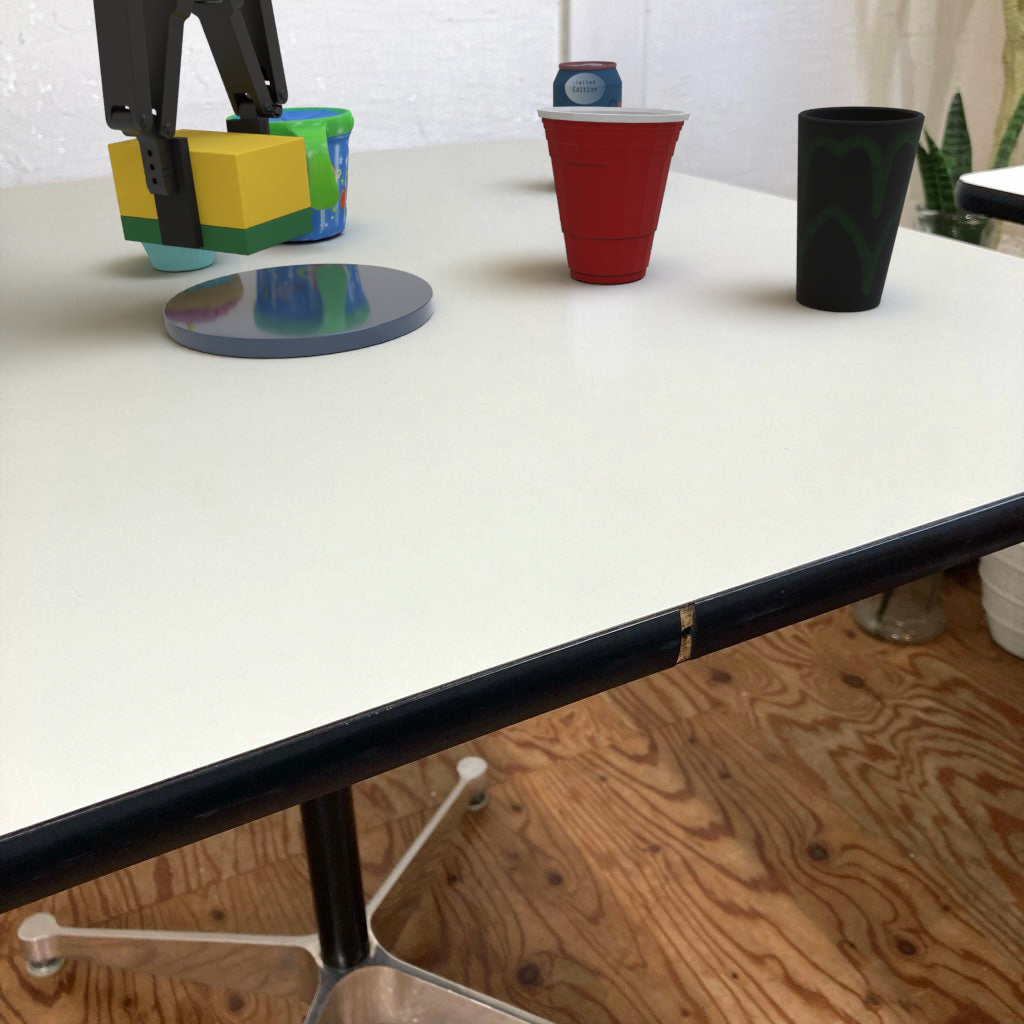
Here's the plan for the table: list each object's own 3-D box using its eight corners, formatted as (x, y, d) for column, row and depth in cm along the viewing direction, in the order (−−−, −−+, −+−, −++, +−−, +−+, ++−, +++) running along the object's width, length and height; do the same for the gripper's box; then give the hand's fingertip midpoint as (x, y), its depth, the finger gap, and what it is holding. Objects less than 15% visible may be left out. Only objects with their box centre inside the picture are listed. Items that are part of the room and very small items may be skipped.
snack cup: (232, 223, 98) (215, 107, 93) (343, 212, 101) (332, 99, 96) (255, 261, 84) (236, 129, 80) (382, 247, 88) (371, 119, 83)
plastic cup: (705, 266, 80) (716, 99, 74) (638, 301, 72) (645, 117, 66) (584, 250, 85) (585, 93, 80) (509, 281, 77) (505, 109, 72)
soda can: (600, 196, 104) (602, 67, 99) (541, 191, 108) (539, 65, 102) (631, 184, 110) (634, 61, 104) (573, 179, 113) (573, 59, 107)
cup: (763, 305, 70) (780, 118, 65) (802, 279, 76) (821, 104, 70) (877, 322, 67) (905, 124, 61) (910, 293, 72) (939, 109, 67)
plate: (106, 338, 68) (102, 320, 67) (274, 270, 82) (272, 254, 81) (340, 373, 61) (338, 353, 60) (478, 292, 75) (478, 276, 74)
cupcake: (114, 264, 85) (82, 106, 79) (211, 246, 89) (188, 96, 84) (157, 284, 79) (126, 116, 73) (258, 264, 84) (237, 105, 78)
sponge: (124, 240, 68) (106, 144, 65) (195, 218, 73) (182, 128, 71) (248, 255, 64) (235, 154, 61) (313, 231, 70) (304, 137, 67)
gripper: (76, -212, 48) (162, 275, 59) (320, -172, 64) (353, 206, 75) (-37, -200, 51) (64, 263, 62) (223, -165, 67) (268, 199, 78)
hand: (222, 231), depth 69 cm, fingers closed on sponge, 7 cm apart
